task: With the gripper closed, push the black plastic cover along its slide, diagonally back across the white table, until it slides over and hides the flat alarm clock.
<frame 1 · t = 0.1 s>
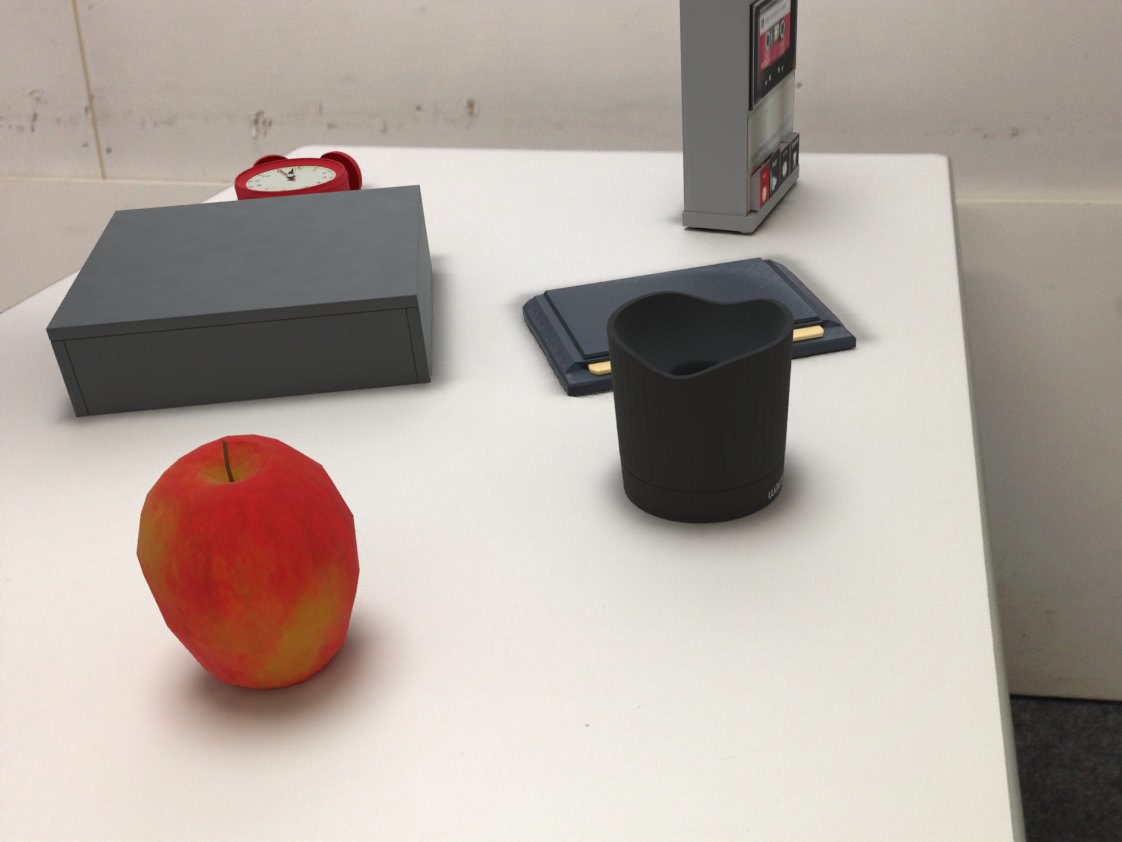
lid: (263, 294, 87), point 3 cm above the table, slide at 0.0 cm
apple: (284, 672, 60), on the table
cassette tape recorder: (744, 206, 107), on the table
alarm clock: (304, 218, 110), on the table
wallet: (681, 331, 88), on the table
pen holder: (703, 496, 71), on the table
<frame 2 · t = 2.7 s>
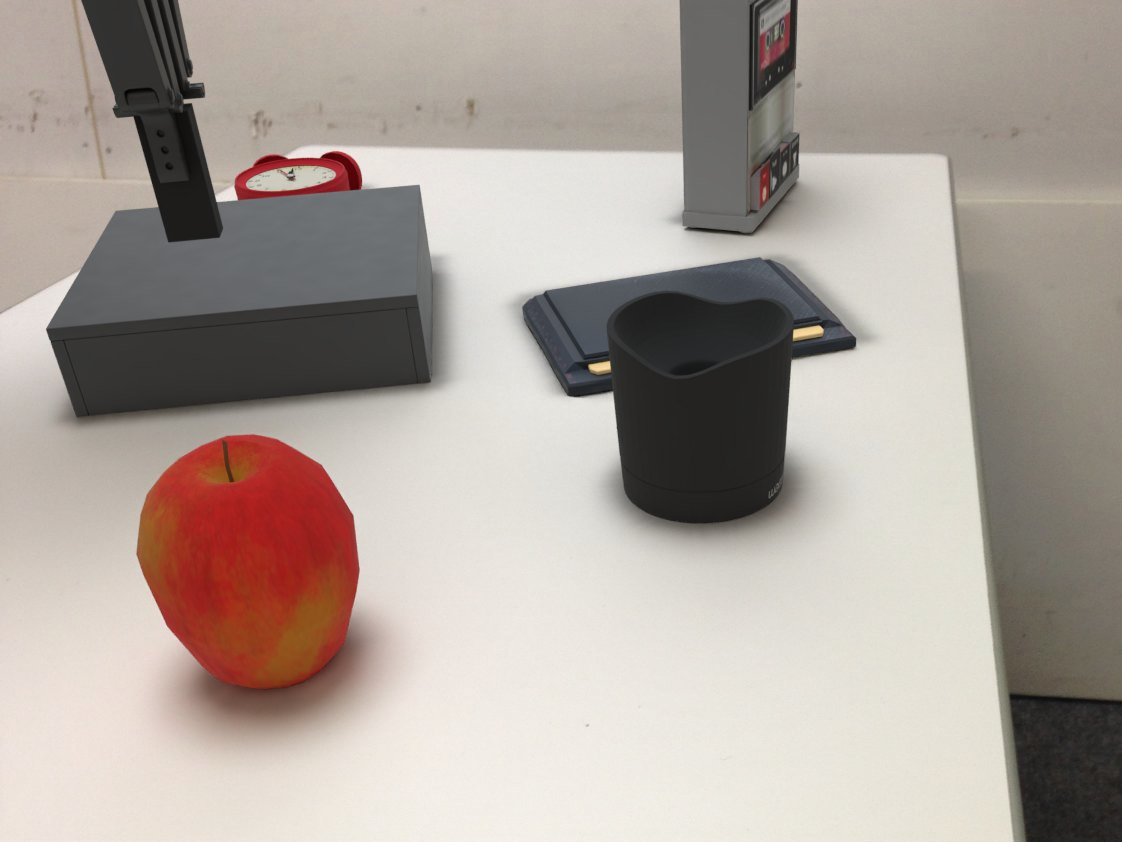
hand: (195, 235, 69), 13 cm above the table, tool pointing down, fingers closed
nothing on the table moved.
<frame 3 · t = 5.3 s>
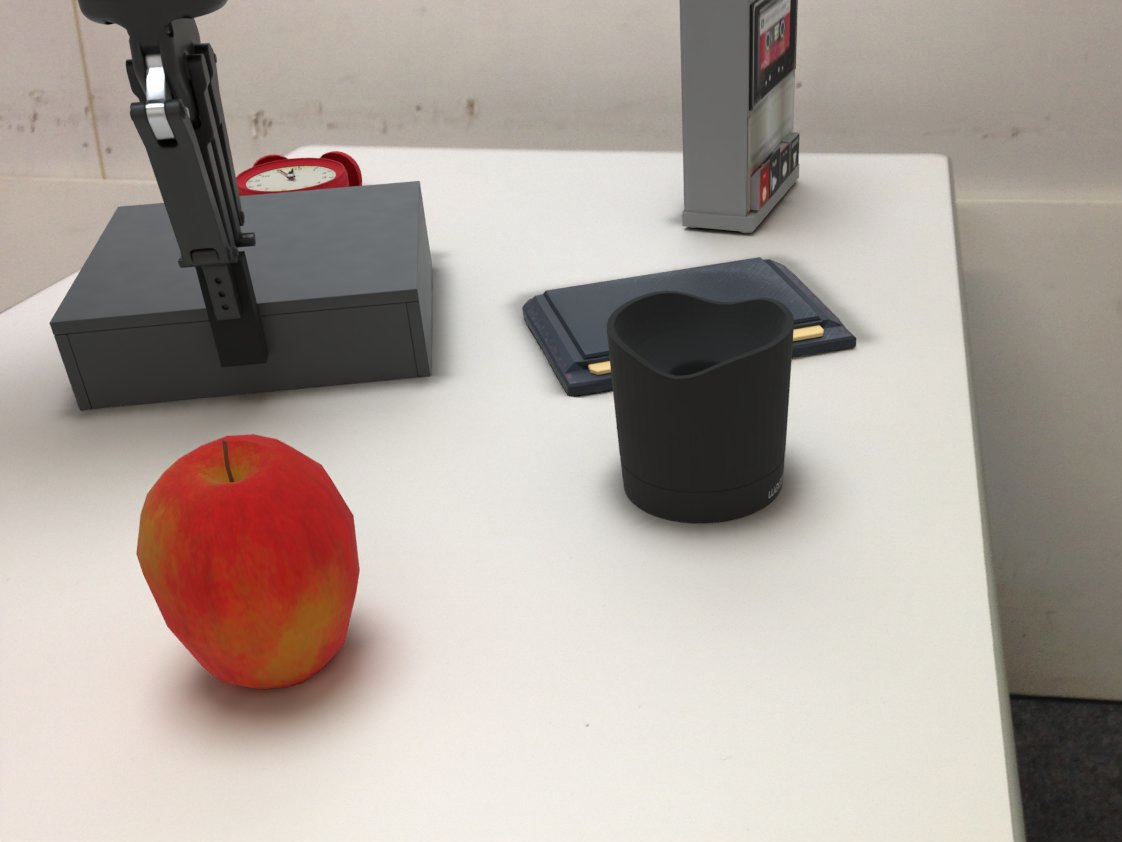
hand: (245, 359, 79), 3 cm above the table, tool pointing down, fingers closed
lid: (264, 289, 88), point 3 cm above the table, slide at 0.9 cm, touching gripper
everything else where it was.
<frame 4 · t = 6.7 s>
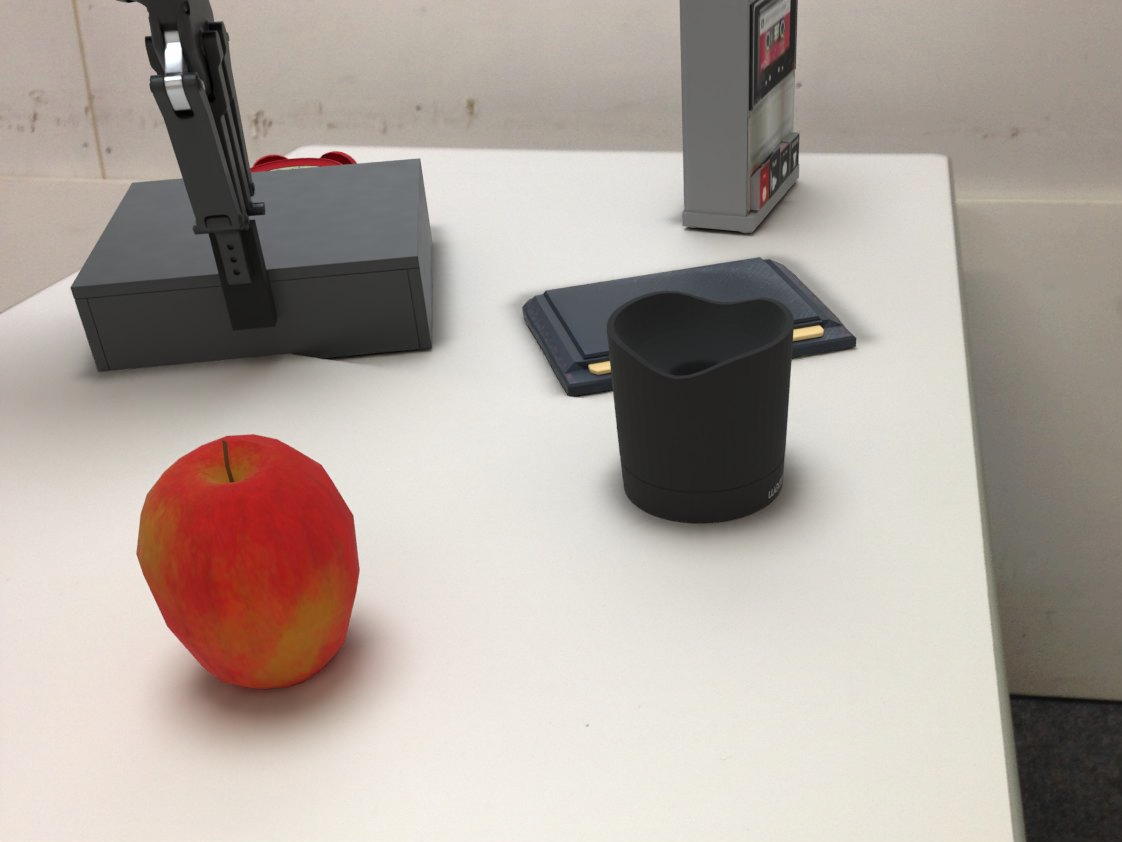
hand: (255, 323, 83), 3 cm above the table, tool pointing down, fingers closed
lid: (272, 260, 92), point 3 cm above the table, slide at 6.5 cm, touching gripper
everything else where it was.
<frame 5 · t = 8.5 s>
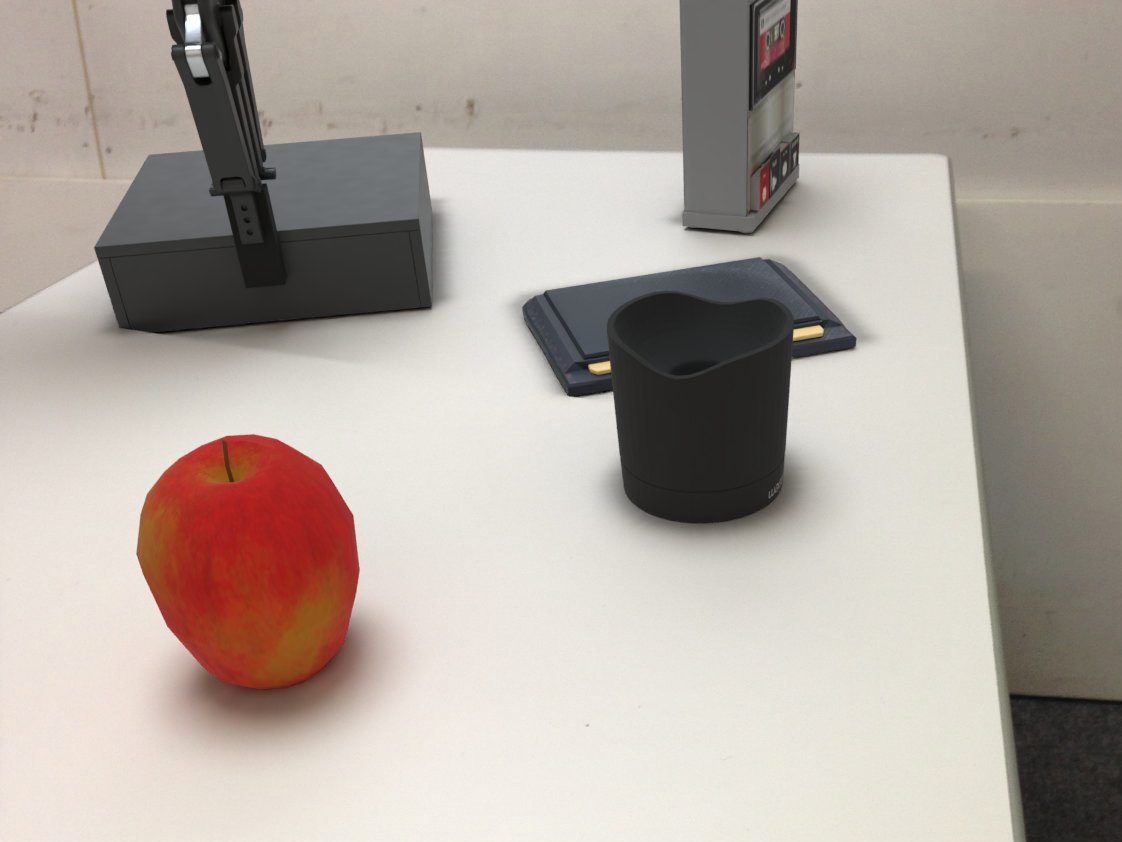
hand: (266, 282, 89), 3 cm above the table, tool pointing down, fingers closed
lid: (282, 226, 98), point 3 cm above the table, slide at 13.7 cm, touching gripper
everything else where it was.
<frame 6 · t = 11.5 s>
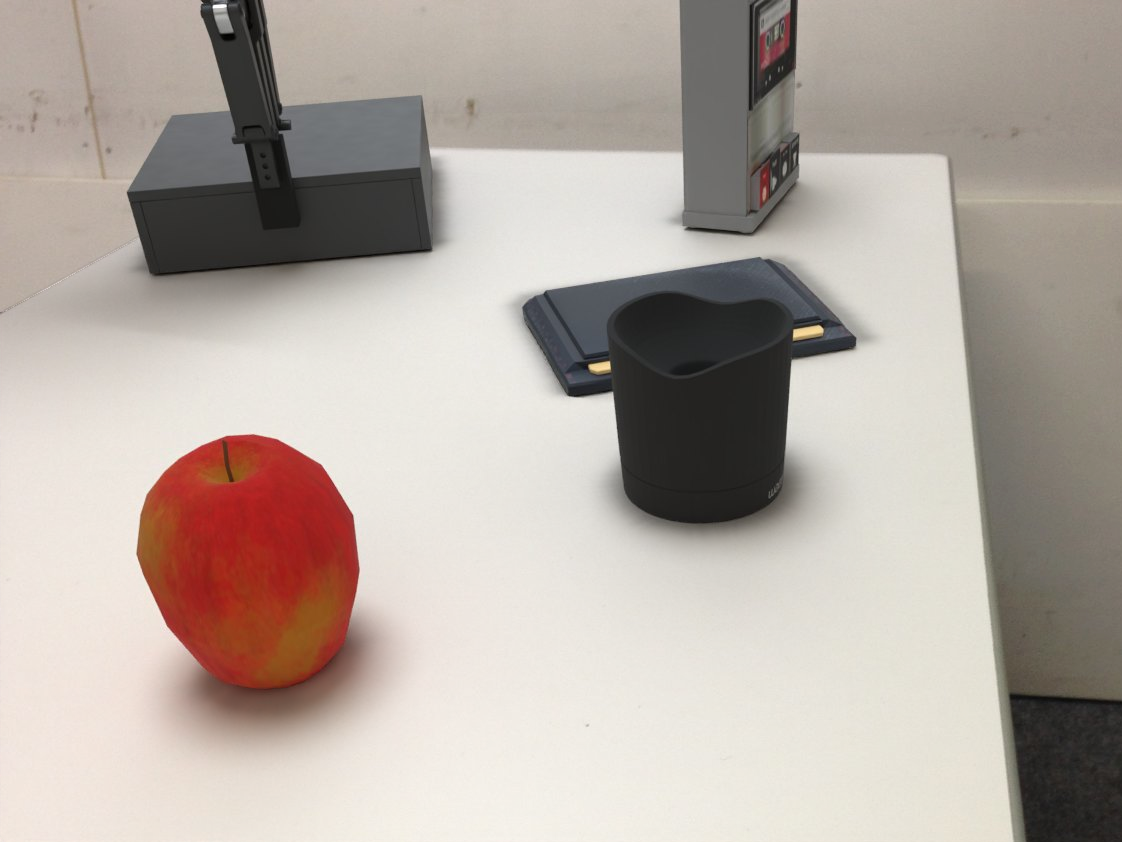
hand: (282, 224, 98), 3 cm above the table, tool pointing down, fingers closed
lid: (295, 178, 107), point 3 cm above the table, slide at 25.4 cm, touching gripper
everything else where it was.
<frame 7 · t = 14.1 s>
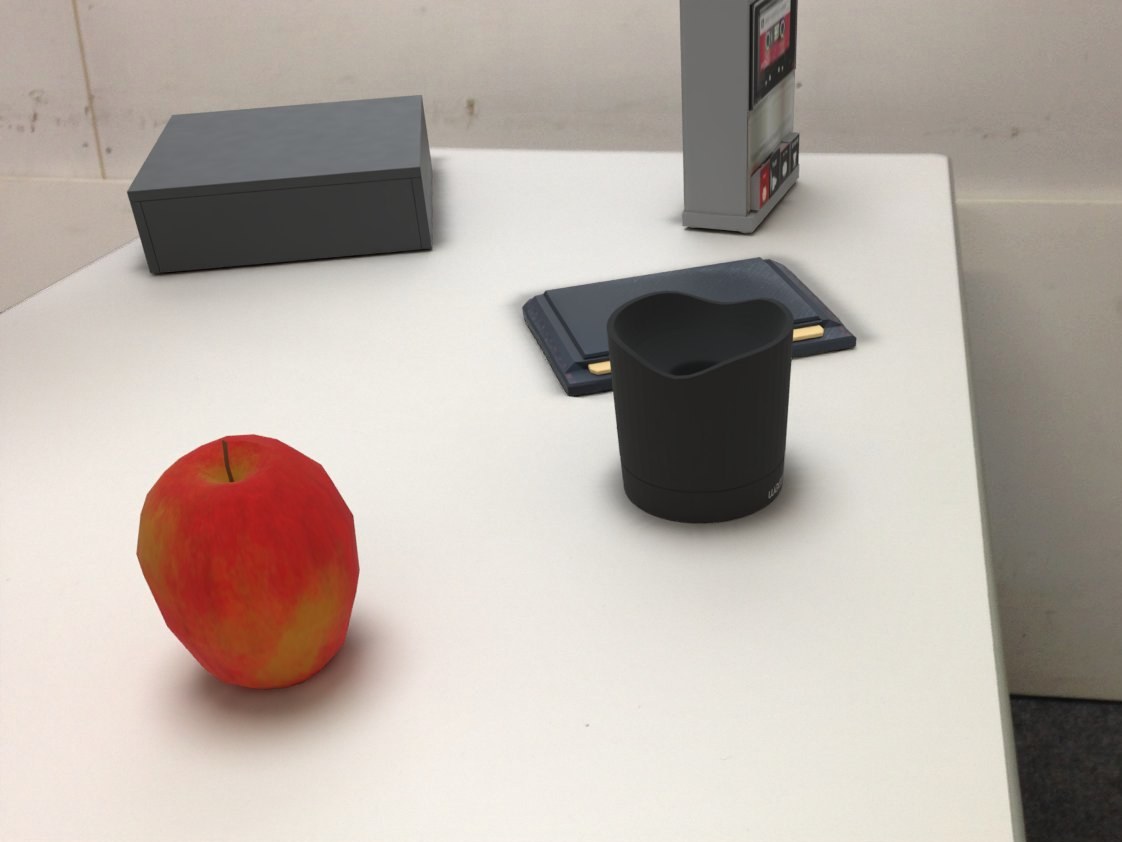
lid: (295, 178, 107), point 3 cm above the table, slide at 25.5 cm
everything else where it was.
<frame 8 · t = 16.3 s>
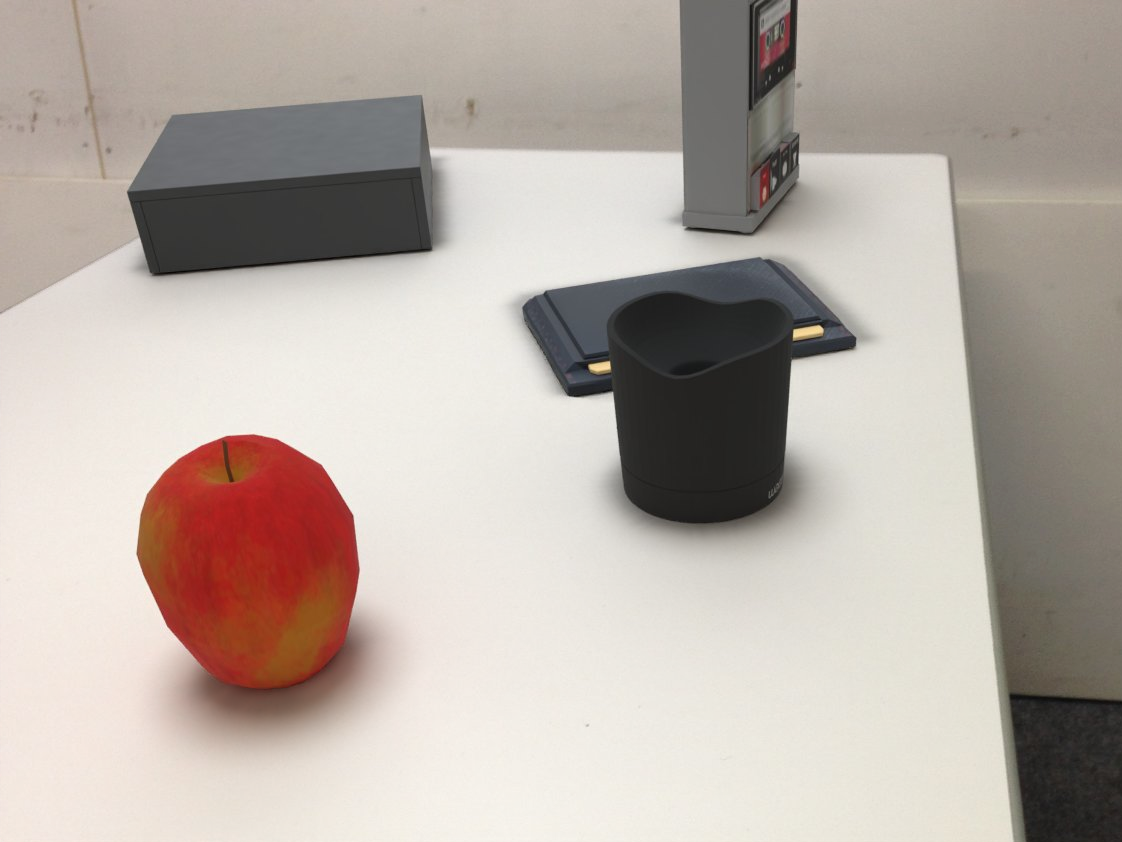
nothing on the table moved.
at the end: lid slide at 25.5 cm; alarm clock moved 0.2 cm from its start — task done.
